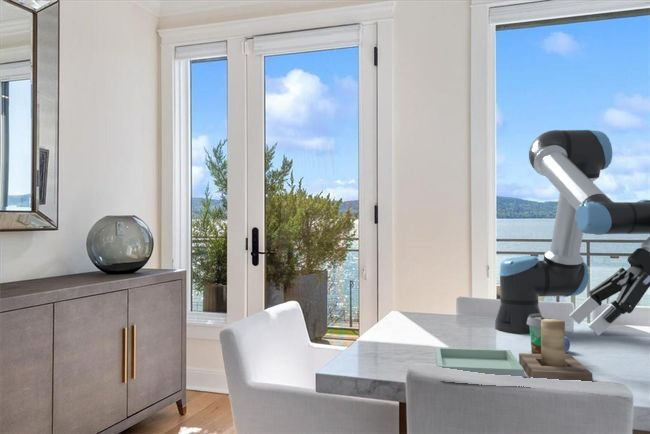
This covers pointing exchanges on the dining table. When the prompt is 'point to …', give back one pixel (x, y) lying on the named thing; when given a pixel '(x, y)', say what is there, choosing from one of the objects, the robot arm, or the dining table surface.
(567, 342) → the decorative dice
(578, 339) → the dining table surface
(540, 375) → the dowel block
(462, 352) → the tray
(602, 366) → the dining table surface
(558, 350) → the dowel
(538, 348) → the food container
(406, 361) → the dining table surface
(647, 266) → the robot arm
